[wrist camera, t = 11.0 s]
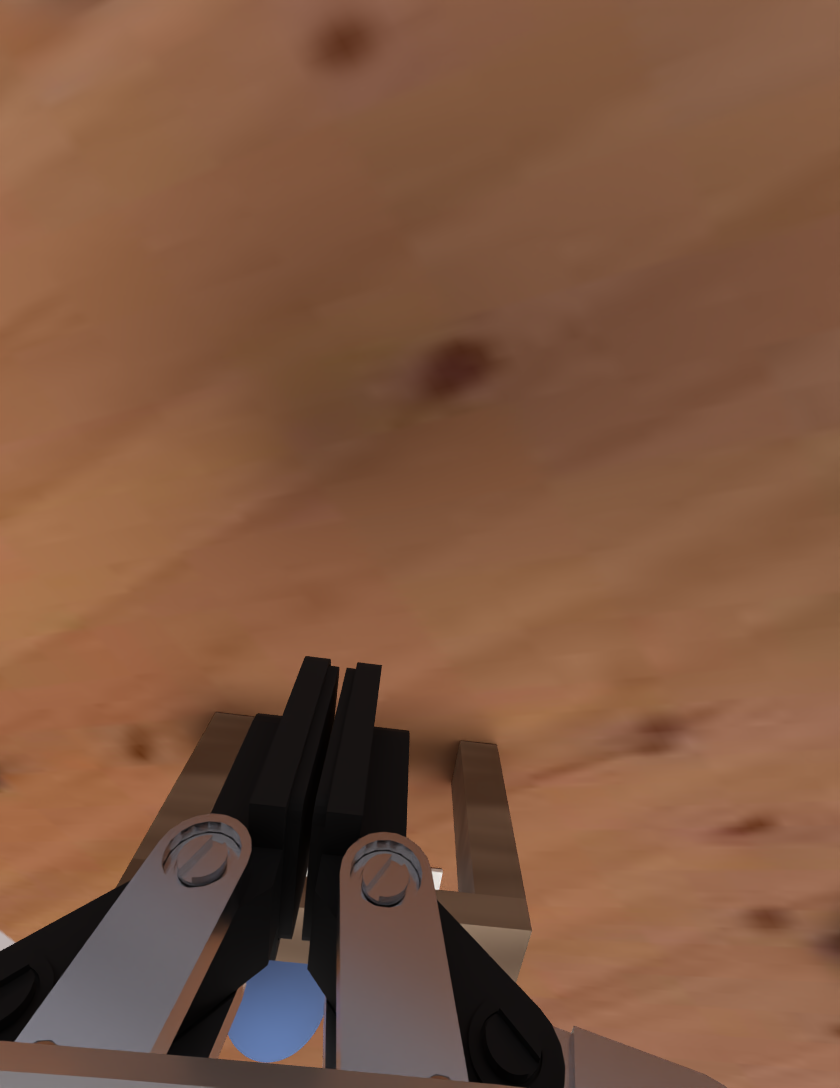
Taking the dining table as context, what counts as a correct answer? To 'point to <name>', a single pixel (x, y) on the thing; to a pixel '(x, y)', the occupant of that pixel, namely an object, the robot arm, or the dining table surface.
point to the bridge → (479, 823)
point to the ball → (277, 1012)
